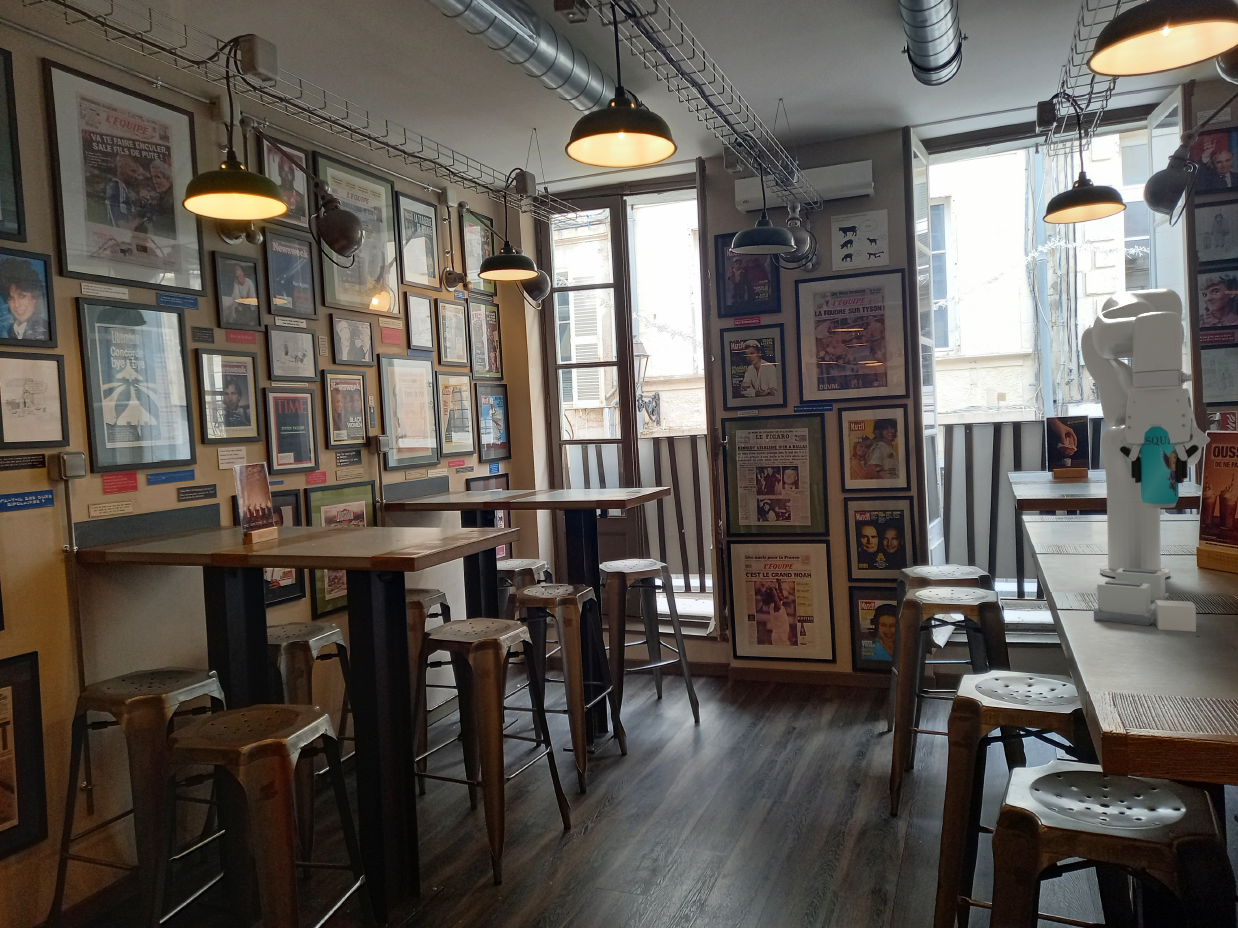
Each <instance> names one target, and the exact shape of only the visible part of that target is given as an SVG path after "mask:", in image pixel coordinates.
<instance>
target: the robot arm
mask: <svg viewBox="0 0 1238 928" xmlns="http://www.w3.org/2000/svg"><path fill="white" fill-rule="evenodd" d="M1181 299H1182V298H1181V296H1180V295H1179V294H1178V293H1177V291H1175V290H1173V289H1172V288H1171V289H1170V288H1166V287H1165V288H1164V287H1163V288H1153V289H1142V290H1130V291H1128V290H1127V291H1122V292H1118V293H1115V294H1113V295H1111V296H1110V297H1109V298H1107V300H1105V301H1104V303H1103V305H1102V306H1101V313H1099V314H1098V315H1097V317H1096V318H1095V320H1094V322H1093V324H1092V325H1090V326H1089V327H1087V328H1086V329H1085V330H1084V331H1083V333H1082V335H1081V338H1080V339H1081V340H1080V341H1081V342H1080V349H1081V355H1082V356H1081V357H1082V359H1083V360H1082V361H1083V364H1084V365H1085V368H1086V370H1087V372H1088V374H1089V376H1090V377H1091V378H1092V380H1093V381H1094V383H1095V384H1096V387H1097V388H1098V394H1099V399H1100V406H1101V410H1102V416H1103V419H1104V422H1105V423H1106V425H1107V427H1108V428H1107V429H1106V430H1105V431H1104V432H1103V433H1102V435H1101V438H1100V439H1101V440H1100V447H1101V453H1102V458H1103V464H1104V470H1105V481H1106V483H1105V484H1106V512H1107V515H1106V516H1107V517H1106V518H1107V519H1106V521H1107V523H1106V525H1107V530H1106V531H1107V564H1105V565H1102V566H1100V567H1099V573H1100V574H1101V575H1104V576H1107V577H1110V578H1111V577H1112V578H1115V572H1116V571H1117V570H1119V569H1120V568H1123V569H1125V568H1136V569H1150V570H1158V571H1165V579H1166V578H1168V577H1170V575H1171V572H1170V569H1169V568H1166V567H1162V556H1161V555H1162V554H1161V553H1162V552H1161V551H1162V550H1161V547H1162V546H1161V543H1162V542H1161V540H1162V539H1161V537H1162V536H1161V508H1150V507H1146V506H1145V505H1144V503H1143V501H1142V498H1141V462H1140V449H1141V445H1142V444H1143V443H1144V436H1145V432H1146V431H1147V430H1148V429H1150V428H1151V427H1152V426H1150V424H1162V426H1160V427H1162V428H1164V429H1165V430H1166V431H1167V432H1168V434H1169V439H1170V443H1172V444H1173V445H1174V447H1175V449H1176V451H1177V453H1178V461H1176V481H1177V483H1178V484H1183V483H1184V482H1185V479H1188V475H1189V471H1188V468H1190V467H1192V466H1195V465H1196V464H1197V463H1198V462H1199V460H1200V458H1201V455H1202V448H1203V447H1204V446H1206V445H1207V444H1208V443H1209V442H1210V441H1211V439H1210V437H1208V435H1207V434H1206V433H1204V432H1203V431H1202V430H1201V429H1200V428H1198V425H1197V422H1196V418H1195V414H1194V411H1193V407H1192V406H1193V405H1192V401H1191V394H1190V391H1189V388H1184V384H1186V383H1188V382H1192V381H1193V373H1187V372H1184V370H1183V346H1184V345H1183V344H1184V341H1185V327H1184V325H1183V322H1182V316H1183V303H1182V300H1181ZM1130 358H1132V366H1131V365H1129V364H1128V363H1126V362H1124V361H1122V360H1121V359H1130Z"/></svg>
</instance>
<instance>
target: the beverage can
mask: <svg viewBox="0 0 1238 928" xmlns="http://www.w3.org/2000/svg"><path fill="white" fill-rule="evenodd" d="M1150 426H1152V427H1151V428H1150V429H1148V430H1147V431H1146V432H1145V436H1144V443H1143V444H1142V445H1141V449H1140V462H1141V498H1142V501H1143V503H1144V505H1145V506H1146V507H1150V508H1160V509H1171V508H1175V507H1176V505H1177V502H1178V500H1179V497H1180V496H1179V492H1180V491H1179V486H1180V485H1179V483H1177V481H1176V461H1178V453H1177V451H1176V449H1175V447H1174V445H1173V444H1172V443H1170V439H1169V434H1168V432H1167V431H1166V430H1165V429H1164V428H1162V427H1160V426H1162V424H1150Z"/></svg>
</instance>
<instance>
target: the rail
mask: <svg viewBox="0 0 1238 928" xmlns="http://www.w3.org/2000/svg"><path fill="white" fill-rule="evenodd" d="M1157 600H1165V601H1170V593H1168V592H1167V593H1166V592H1165V595H1164V596H1162V597H1161V598H1158V599H1157ZM1093 621H1103V622H1111V623H1120V624H1131V625H1138V626H1147V627H1148V626H1150V625H1151V624H1152V623H1154V621H1155V600H1151V608H1150V609H1149V610H1148V611H1147V612H1146V613H1143V615H1134V614H1124V613H1114V612H1105V611H1100V608H1098V604H1097V605H1096V606H1094V607H1093Z"/></svg>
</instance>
